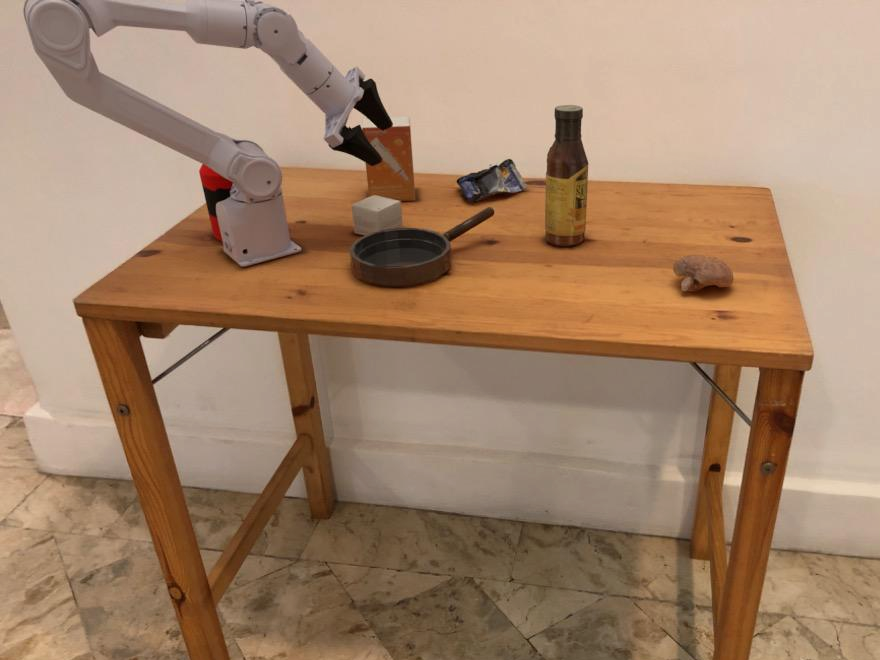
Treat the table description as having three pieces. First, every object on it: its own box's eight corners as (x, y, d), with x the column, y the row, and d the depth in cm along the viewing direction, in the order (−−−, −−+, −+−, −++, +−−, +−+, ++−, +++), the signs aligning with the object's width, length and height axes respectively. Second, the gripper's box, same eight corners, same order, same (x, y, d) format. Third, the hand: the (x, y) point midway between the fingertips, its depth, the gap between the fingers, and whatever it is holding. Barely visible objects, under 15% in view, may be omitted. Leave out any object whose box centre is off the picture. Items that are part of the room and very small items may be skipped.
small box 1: (369, 203, 136) (360, 127, 129) (369, 191, 142) (361, 117, 135) (416, 201, 137) (410, 125, 130) (415, 189, 143) (409, 115, 136)
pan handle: (446, 244, 116) (445, 221, 115) (440, 241, 118) (439, 218, 116) (496, 229, 121) (496, 207, 119) (491, 227, 122) (490, 204, 120)
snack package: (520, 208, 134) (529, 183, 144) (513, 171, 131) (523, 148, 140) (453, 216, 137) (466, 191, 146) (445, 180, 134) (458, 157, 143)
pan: (383, 298, 106) (381, 276, 104) (335, 263, 116) (332, 243, 114) (470, 270, 113) (469, 249, 111) (418, 240, 123) (416, 220, 121)
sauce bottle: (582, 249, 119) (588, 114, 108) (541, 246, 120) (543, 112, 109) (587, 233, 124) (593, 103, 114) (548, 230, 125) (550, 101, 115)
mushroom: (707, 307, 103) (750, 277, 105) (688, 265, 101) (731, 236, 104) (673, 309, 110) (714, 281, 112) (654, 270, 108) (696, 243, 111)
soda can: (216, 246, 121) (198, 169, 115) (212, 229, 127) (195, 155, 121) (266, 239, 124) (252, 163, 117) (260, 222, 130) (246, 149, 123)
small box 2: (404, 229, 126) (401, 200, 124) (380, 241, 122) (377, 211, 120) (377, 222, 129) (374, 193, 126) (353, 234, 125) (349, 204, 122)
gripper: (325, 103, 106) (391, 170, 115) (350, 34, 113) (411, 102, 122) (290, 122, 110) (357, 185, 119) (317, 54, 117) (378, 119, 126)
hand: (382, 144), depth 121 cm, fingers open, 7 cm apart
